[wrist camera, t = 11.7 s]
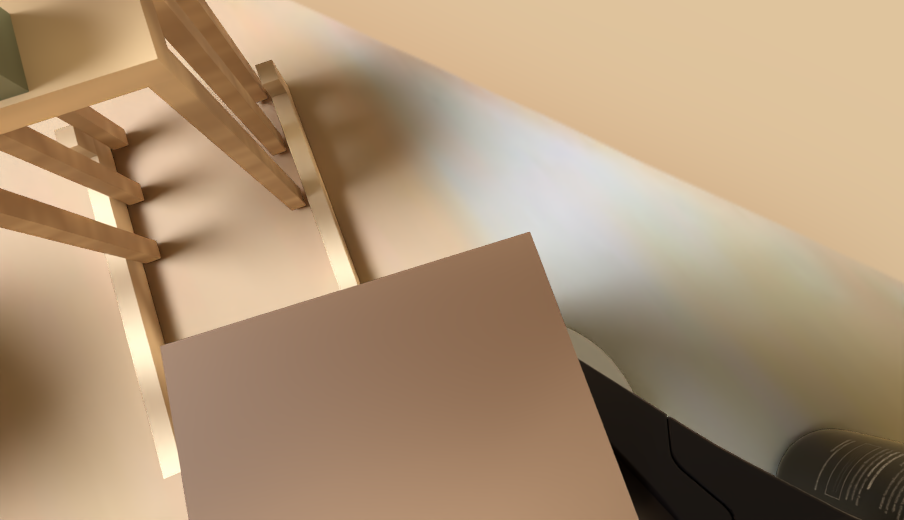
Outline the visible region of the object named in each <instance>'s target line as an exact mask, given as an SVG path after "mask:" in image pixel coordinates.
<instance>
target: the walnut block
mask: <svg viewBox="0 0 904 520" xmlns="http://www.w3.org/2000/svg"><path fill="white" fill-rule="evenodd" d="M160 349H161V355H162V361H163V367H164V373H165V379H166V385H167V391H168V397H169V403H170V409H171V416H172V422H173V428H174V434H175V440H176V446H177V452H178V458H179V464H180V470H181V476H182V482H183V488H184V494H185V500H186V506H187V512H188V518H189V520H639V519H638V516H637V513H636V511H635V508H634V505H633V503H632V500H631V497H630V495H629V492H628V490H627V487H626V484H625V482H624V479H623V476H622V474H621V471H620V468H619V466H618V463H617V461H616V458H615V455H614V453H613V450H612V447H611V445H610V442H609V439H608V437H607V434H606V431H605V429H604V426H603V424H602V421H601V418H600V416H599V413H598V410H597V408H596V405H595V402H594V400H593V397H592V394H591V392H590V389H589V387H588V384H587V381H586V379H585V376H584V373H583V371H582V368H581V365H580V363H579V360H578V358H577V355H576V352H575V350H574V347H573V344H572V342H571V339H570V336H569V334H568V331H567V328H566V326H565V323H564V321H563V318H562V315H561V313H560V310H559V307H558V305H557V302H556V299H555V297H554V294H553V291H552V289H551V286H550V284H549V281H548V278H547V276H546V273H545V270H544V268H543V265H542V262H541V260H540V257H539V255H538V252H537V249H536V247H535V244H534V241H533V239H532V236H531V233H530V232H527V233H524V234H521V235H518V236H514V237H511V238H508V239H505V240H501V241H498V242H495V243H492V244H488V245H485V246H482V247H479V248H476V249H472V250H469V251H466V252H463V253H459V254H456V255H453V256H450V257H446V258H443V259H440V260H437V261H434V262H430V263H427V264H424V265H421V266H417V267H414V268H411V269H408V270H404V271H401V272H398V273H395V274H391V275H388V276H385V277H382V278H379V279H375V280H372V281H369V282H366V283H362V284H359V285H356V286H353V287H349V288H346V289H343V290H340V291H337V292H333V293H330V294H327V295H324V296H320V297H317V298H314V299H311V300H307V301H304V302H301V303H298V304H295V305H291V306H288V307H285V308H282V309H278V310H275V311H272V312H269V313H265V314H262V315H259V316H256V317H253V318H249V319H246V320H243V321H240V322H236V323H233V324H230V325H227V326H223V327H220V328H217V329H214V330H211V331H207V332H204V333H201V334H198V335H194V336H191V337H188V338H185V339H181V340H178V341H175V342H172V343H169V344H165V345H162V346H160Z"/></svg>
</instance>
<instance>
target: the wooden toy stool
mask: <svg viewBox="0 0 904 520" xmlns="http://www.w3.org/2000/svg"><path fill="white" fill-rule="evenodd" d="M164 37H165V38H166V39H167V41H168V42H169V43H170V44H171V45H172V46H173V47H174V48H175V49H176V50H177V51H178V53H179V54H180V55H181V56H182V57H183V58H184V59H185V60H186V61H187V62H188V63H189V65H190V66H191V67H192V68H193V69H194V70H195V71H196V72H197V73H198V74H199V75H200V77H201V78H202V79H203V80H204V81H205V82H206V83H207V84H208V85H209V86H210V87H211V89H212V90H213V91H214V92H215V93H216V94H217V95H218V96H219V97H220V98H221V99H222V101H223V102H224V103H225V104H226V105H227V106H228V107H229V108H230V109H231V110H232V111H233V113H234V114H235V115H236V116H237V117H238V118H239V119H240V120H241V121H242V122H243V123H244V125H245V126H246V127H247V128H248V129H249V130H250V131H251V132H252V133H253V134H254V136H255V137H256V138H257V139H258V140H259V141H260V142H261V143H262V144H263V145H264V146H265V148H266V149H267V150H268V151H269V152H270V153H271V154H272V155H276V154H279V153H282V152H284V151H287V150H286V148H285V145H284V142H283V139H282V136H281V135H280V133H279V132H278V131H277V129H276V128H275V127H274V126H273V124H272V123H271V122H270V120H269V119H268V118H267V117H266V115H265V114H264V113H263V112H262V110H261V109H260V108H259V106H258V105H257V104H256V102H259V101H262V100H265V99H268V97H267V94H266V91H265V89H264V87H263V85H262V83H261V81H260V79H259V78H258V76H257V75H256V73H255V72H254V71H253V69H252V68H251V66H250V65H249V63H248V62H247V60H246V59H245V58H244V56H243V55H242V53H241V52H240V50H239V49H238V48H237V46H236V45H235V43H234V42H233V40H232V39H231V37H230V36H229V35H228V33H227V32H226V30H225V29H224V27H223V26H222V25H221V23H220V22H219V20H218V19H217V17H216V16H215V14H214V13H213V12H212V10H211V9H210V7H209V6H208V4H207V3H206V2H205V0H0V151H3V152H5V153H7V154H10V155H12V156H15V157H17V158H19V159H22V160H24V161H26V162H29V163H31V164H33V165H36V166H38V167H40V168H43V169H45V170H48V171H50V172H52V173H55V174H57V175H59V176H62V177H64V178H66V179H69V180H71V181H73V182H76V183H78V184H81V185H83V186H85V187H88V188H90V189H92V190H95V191H97V192H99V193H102V194H104V195H106V196H109V197H111V198H114V199H116V200H118V201H121V202H123V203H125V204H128V205H132V204H135V203H138V202H141V201H144V197H143V193H142V190H141V186H140V184H139V183H137V182H135V181H133V180H131V179H129V178H127V177H125V176H123V175H121V174H119V173H117V172H115V171H113V170H111V169H110V168H108V167H106V166H104V165H102V164H100V163H98V162H96V161H94V160H92V159H90V158H88V157H86V156H84V155H82V154H80V153H78V152H76V151H74V150H72V149H70V148H68V147H66V146H64V145H62V144H61V143H59V142H57V141H55V140H53V139H51V138H49V137H47V136H45V135H43V134H41V133H39V132H37V131H35V130H33V129H31V128H29V127H27V126H28V125H32V124H35V123H38V122H41V121H44V120H47V119H50V118H53V117H58V118H60V119H61V120H63V121H65V122H67V123H68V124H70V125H72V126H73V127H75V128H77V129H79V130H80V131H82V132H84V133H86V134H87V135H89V136H91V137H93V138H94V139H96V140H98V141H100V142H101V143H103V144H105V145H107V146H108V147H110V148H112V149H113V150H115V149H118V148H121V147H124V146H127V145H128V141H127V138H126V134H125V131H124V129H123V128H121V127H120V126H118V125H116V124H115V123H113V122H112V121H110V120H109V119H107V118H106V117H104V116H103V115H101V114H100V113H98V112H97V111H95V110H94V109H92V108H91V107H89V106H91V105H94V104H97V103H100V102H103V101H106V100H109V99H112V98H116V97H119V96H122V95H125V94H128V93H131V92H134V91H137V90H141V89H144V88H147V87H149V88H150V89H151V90H152V91H154V92H155V93H156V94H157V95H158V96H159V97H161V98H162V99H163V100H164V101H165V102H166V103H168V104H169V105H170V106H171V107H172V108H173V109H175V110H176V111H177V112H178V113H179V114H180V115H181V116H183V117H184V118H185V119H186V120H187V121H188V122H190V123H191V124H192V125H193V126H194V127H195V128H197V129H198V130H199V131H200V132H201V133H202V134H204V135H205V136H206V137H207V138H208V139H209V140H211V141H212V142H213V143H214V144H215V145H216V146H218V147H219V148H220V149H221V150H222V151H223V152H225V153H226V154H227V155H228V156H229V157H230V158H232V159H233V160H234V161H235V162H236V163H237V164H239V165H240V166H241V167H242V168H243V169H244V170H245V171H247V172H248V173H249V174H250V175H251V176H252V177H254V178H255V179H256V180H257V181H258V182H259V183H261V184H262V185H263V186H264V187H265V188H266V189H268V190H269V191H270V192H271V193H272V194H273V195H275V196H276V197H277V198H278V199H279V200H280V201H282V202H283V203H284V204H285V205H286V206H287V207H289V208H290V209H291V210H295V209H298V208H300V207H303V206H306V204H305V201H304V198H303V195H302V193H301V190H300V188H299V187H298V186H297V185H296V184H295V183H294V182H293V181H292V180H291V179H290V178H289V177H288V176H287V175H286V173H285V172H284V171H283V170H282V169H281V168H280V167H279V166H278V165H277V164H276V163H275V162H274V161H273V160H272V159H271V158H270V156H269V155H268V154H267V153H266V152H265V151H264V150H263V149H262V148H261V147H260V146H259V145H258V144H257V143H256V142H255V140H254V139H253V138H252V137H251V136H250V135H249V134H248V133H247V132H246V131H245V130H244V129H243V128H242V127H241V126H240V124H239V123H238V122H237V121H236V120H235V119H234V118H233V117H232V116H231V115H230V114H229V113H228V112H227V111H226V110H225V109H224V107H223V106H222V105H221V104H220V103H219V102H218V101H217V100H216V99H215V98H214V97H213V96H212V95H211V94H210V93H209V91H208V90H207V89H206V88H205V87H204V86H203V85H202V84H201V83H200V82H199V81H198V80H197V79H196V78H195V77H194V76H193V74H192V73H191V72H190V71H189V70H188V69H187V68H186V67H185V66H184V65H183V64H182V63H181V62H180V61H179V60H178V58H177V57H176V56H175V55H174V54H173V53H172V52H171V51H170V50H169V49H168V48H167V45H166V41H165V38H164ZM0 227H1V228H5V229H9V230H13V231H17V232H21V233H25V234H29V235H33V236H37V237H41V238H45V239H49V240H53V241H57V242H61V243H65V244H69V245H73V246H77V247H81V248H85V249H89V250H93V251H97V252H101V253H105V254H109V255H113V256H117V257H121V258H125V259H129V260H134V261H138V262H142V263H149V262H152V261H155V260H157V259H160V258H161V256H160V253H159V249H158V246H157V242H156V241H155V240H152V239H149V238H146V237H143V236H140V235H137V234H134V233H131V232H128V231H125V230H122V229H119V228H116V227H113V226H110V225H107V224H104V223H101V222H98V221H95V220H92V219H89V218H86V217H84V216H81V215H78V214H75V213H72V212H69V211H66V210H63V209H60V208H57V207H54V206H51V205H48V204H45V203H42V202H39V201H36V200H33V199H30V198H27V197H24V196H21V195H18V194H15V193H12V192H9V191H7V190H4V189H1V188H0Z"/></svg>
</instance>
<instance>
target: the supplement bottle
mask: <svg viewBox="0 0 904 520" xmlns="http://www.w3.org/2000/svg"><path fill="white" fill-rule="evenodd" d="M776 477H778V478H779V479H781V480H783V481H785V482H787V483H789V484H791V485H793V486H795V487H797V488H799V489H801V490H802V491H804V492H806V493H808V494H810V495H812V496H814V497H816V498H818V499H820V500H822V501H824V502H825V503H827V504H829V505H831V506H833V507H835V508H837V509H839V510H841V511H843V512H845V513H847V514H850V515H852V516H854V517H857V518H859V519H861V520H904V443H902V442H898V441H893V440H889V439H885V438H880V437H876V436H872V435H867V434H862V433H858V432H853V431H848V430H842V429H823V430H817V431H814V432H811V433H809V434H806V435H804V436H803V437H801V438H799V439H798V440H797V441H795V442H794V443H793V444H792V445H791V446H790V447H789V449H788V450H787V451H786V453H785V454H784V456H783V458H782V459H781V462H780V464H779V467H778V470H777V474H776Z"/></svg>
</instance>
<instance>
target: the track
mask: <svg viewBox="0 0 904 520" xmlns="http://www.w3.org/2000/svg"><path fill="white" fill-rule="evenodd" d="M255 66H256V69H257V72H258V74H259V77H260V80H261V83H262V85H263V87H264V88H265V89H266V91H267V92H268V94H269V95H270V97H271V98H272V101H273V104H274V107H275V109H276V112H277V115H278V118H279V121H280V123H281V126H282V129H283V132H284V135H285V137H286V140H287V143H288V146H289V149H290V151H291V154H292V157H293V160H294V163H295V165H296V168H297V171H298V174H299V177H300V179H301V182H302V185H303V188H304V191H305V193H306V196H307V199H308V202H309V205H310V207H311V210H312V213H313V216H314V218H315V221H316V224H317V227H318V230H319V232H320V235H321V238H322V241H323V244H324V246H325V249H326V252H327V255H328V258H329V260H330V263H331V266H332V269H333V272H334V274H335V277H336V280H337V283H338V286H339V288H340V290H343V289H346V288H349V287H353V286H356V285H359V284H360V282H359V279H358V276H357V273H356V271H355V268H354V265H353V262H352V260H351V257H350V254H349V252H348V249H347V246H346V243H345V241H344V238H343V235H342V233H341V230H340V227H339V224H338V222H337V219H336V216H335V213H334V211H333V208H332V205H331V203H330V200H329V197H328V194H327V192H326V189H325V186H324V184H323V181H322V178H321V175H320V173H319V170H318V167H317V164H316V162H315V159H314V156H313V154H312V151H311V148H310V145H309V143H308V140H307V137H306V134H305V132H304V129H303V126H302V124H301V121H300V118H299V115H298V113H297V110H296V107H295V105H294V102H293V99H292V96H291V94H290V91H289V88H288V86H287V84H286V83H285V81H284V79H283V78H282V76H281V74H280V73H279V71H278V69H277V68H276V66H275V65H274V63H273V61H272V60H270V61H267V62H264V63H261V64H258V65H255ZM54 132H55V135H56V139H57V142H59V143H61V144H62V145H64V146H66V147H68V148H70V149H72V150H74V151H76V152H78V153H80V154H82V155H84V156H86V157H88V158H90V159H92V160H94V161H96V162H98V163H100V164H102V165H104V166H106V167H108V168H110V169H111V170H113V171H115V172H117V170H116V167H115V163H114V159H113V156H112V152H111V149H110V147H108V146H107V145H105V144H103V143H101V142H100V141H98V140H96V139H94V138H93V137H91V136H89V135H87V134H86V133H84V132H82V131H80V130H79V129H77V128H75V127H73V126H72V125H69V126H66V127H63V128H60V129H57V130H54ZM87 189H88V193H89V197H90V200H91V204H92V208H93V212H94V216H95V219H96V221H98V222H101V223H104V224H107V225H110V226H113V227H116V228H119V229H122V230H125V231H128V232H131V233H134V231H133V228H132V224H131V221H130V217H129V213H128V210H127V206H126V204H125V203H123V202H121V201H118V200H116V199H114V198H111V197H109V196H106V195H104V194H102V193H99V192H97V191H95V190H92V189H90V188H88V187H87ZM104 254H105V253H104ZM105 257H106V261H107V265H108V269H109V273H110V276H111V280H112V284H113V288H114V292H115V295H116V299H117V303H118V307H119V311H120V314H121V318H122V322H123V326H124V330H125V333H126V337H127V341H128V345H129V349H130V352H131V356H132V360H133V364H134V368H135V371H136V375H137V379H138V383H139V387H140V390H141V394H142V398H143V402H144V406H145V409H146V413H147V417H148V421H149V424H150V428H151V432H152V436H153V440H154V443H155V447H156V451H157V455H158V459H159V462H160V466H161V470H162V474H163V478H164V479H165V478H167V477H170V476H172V475H174V474H177V473H179V472H181V470H180V464H179V458H178V452H177V446H176V440H175V434H174V428H173V422H172V416H171V409H170V403H169V397H168V391H167V385H166V379H165V373H164V367H163V361H162V355H161V349H160V346H162V345H165V343H164V339H163V336H162V332H161V328H160V325H159V321H158V318H157V314H156V310H155V307H154V303H153V300H152V296H151V292H150V289H149V285H148V282H147V278H146V274H145V271H144V267H143V264H142V262H138V261H134V260H129V259H125V258H121V257H117V256H113V255H109V254H105Z"/></svg>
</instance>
